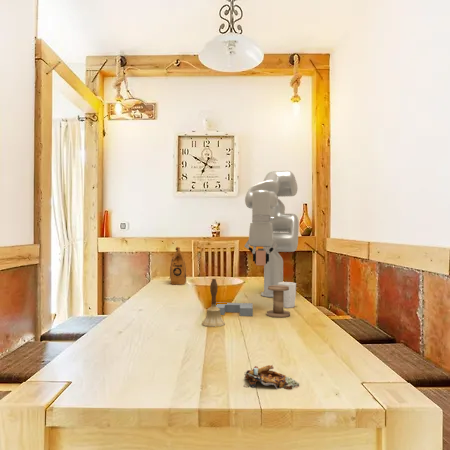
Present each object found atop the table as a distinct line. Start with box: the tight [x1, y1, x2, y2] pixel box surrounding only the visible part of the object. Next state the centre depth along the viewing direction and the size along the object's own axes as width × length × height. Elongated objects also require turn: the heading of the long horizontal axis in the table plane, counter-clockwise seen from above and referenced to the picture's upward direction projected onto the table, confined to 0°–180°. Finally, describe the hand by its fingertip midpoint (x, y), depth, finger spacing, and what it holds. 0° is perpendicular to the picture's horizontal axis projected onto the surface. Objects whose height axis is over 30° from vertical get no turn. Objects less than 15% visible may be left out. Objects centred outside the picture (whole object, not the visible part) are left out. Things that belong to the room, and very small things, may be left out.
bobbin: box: [266, 285, 291, 319], centre depth 150 cm, size 9×9×11 cm
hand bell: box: [201, 278, 226, 328], centre depth 135 cm, size 8×8×16 cm
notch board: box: [216, 302, 254, 317], centre depth 153 cm, size 16×10×3 cm, turn 87°
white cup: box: [278, 281, 297, 309], centre depth 167 cm, size 8×8×10 cm
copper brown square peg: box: [255, 247, 266, 266], centre depth 161 cm, size 4×4×7 cm
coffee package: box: [169, 246, 187, 286], centre depth 232 cm, size 10×12×22 cm
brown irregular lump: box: [242, 364, 300, 390], centre depth 85 cm, size 7×12×4 cm, turn 84°
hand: (260, 262), depth 161 cm, fingers closed on copper brown square peg, 4 cm apart
